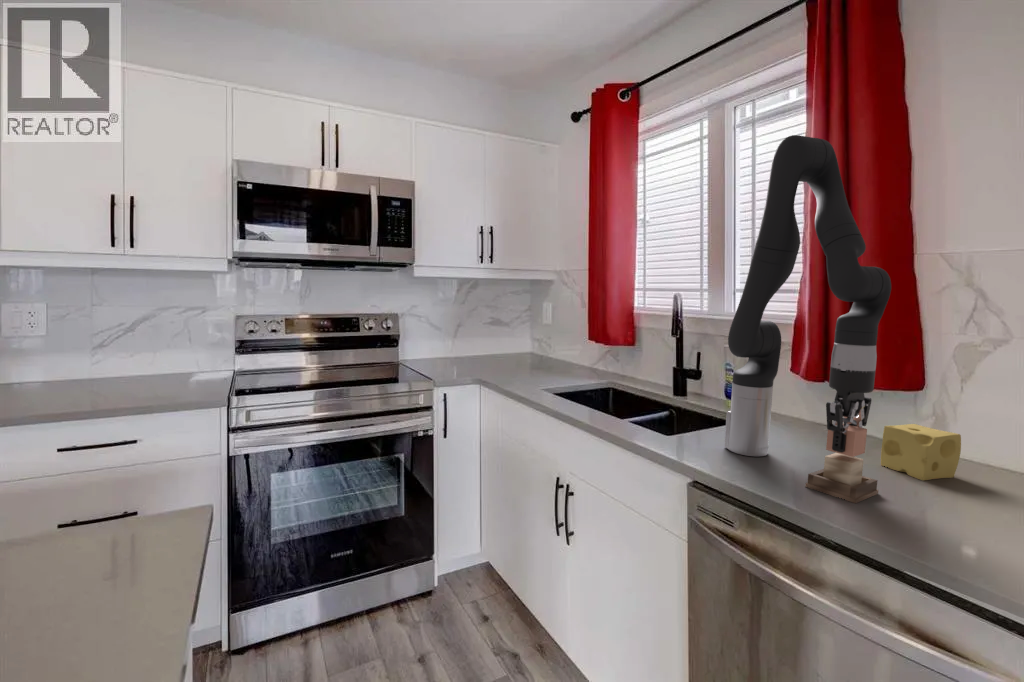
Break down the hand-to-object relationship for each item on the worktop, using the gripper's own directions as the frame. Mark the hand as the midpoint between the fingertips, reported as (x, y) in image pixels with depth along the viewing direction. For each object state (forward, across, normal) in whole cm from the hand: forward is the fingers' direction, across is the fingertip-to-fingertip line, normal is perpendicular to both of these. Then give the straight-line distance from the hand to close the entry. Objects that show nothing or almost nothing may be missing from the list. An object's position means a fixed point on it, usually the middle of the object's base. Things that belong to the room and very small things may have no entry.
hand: (845, 448), depth 103 cm
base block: (+8, 0, 0) cm, 8 cm away
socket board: (+9, 0, 0) cm, 9 cm away
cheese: (+9, -28, +3) cm, 30 cm away
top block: (+1, 0, 0) cm, 1 cm away
